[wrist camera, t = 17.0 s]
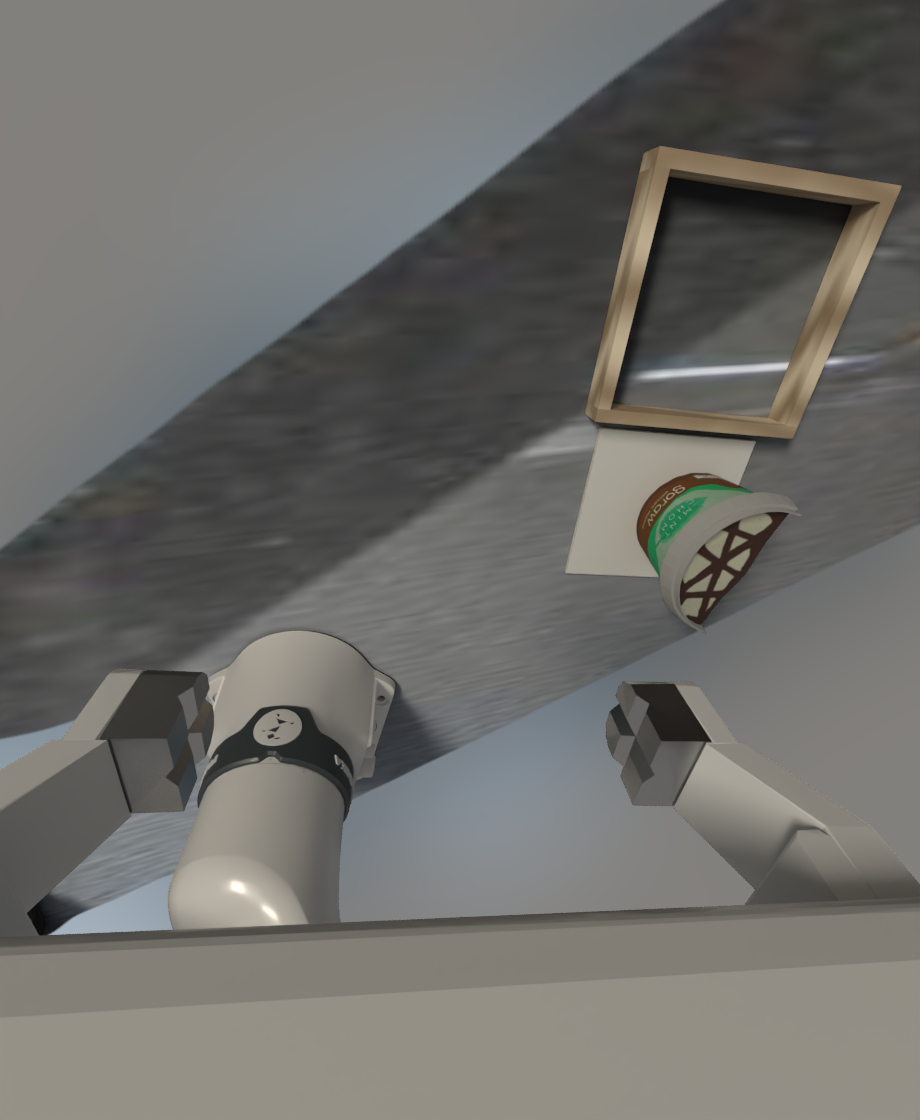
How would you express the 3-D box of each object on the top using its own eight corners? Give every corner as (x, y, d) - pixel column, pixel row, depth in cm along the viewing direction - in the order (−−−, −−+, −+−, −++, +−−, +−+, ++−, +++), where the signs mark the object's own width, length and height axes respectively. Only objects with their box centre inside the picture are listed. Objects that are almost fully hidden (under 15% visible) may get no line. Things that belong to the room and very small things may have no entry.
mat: (699, 577, 52) (701, 579, 51) (564, 570, 50) (565, 573, 49) (753, 440, 45) (756, 441, 44) (599, 427, 43) (601, 428, 42)
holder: (773, 430, 44) (792, 438, 42) (585, 413, 42) (594, 421, 40) (871, 190, 36) (901, 185, 34) (643, 153, 34) (659, 146, 32)
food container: (673, 435, 43) (740, 478, 35) (729, 461, 45) (806, 508, 36) (598, 554, 49) (640, 617, 40) (650, 574, 50) (701, 638, 42)
